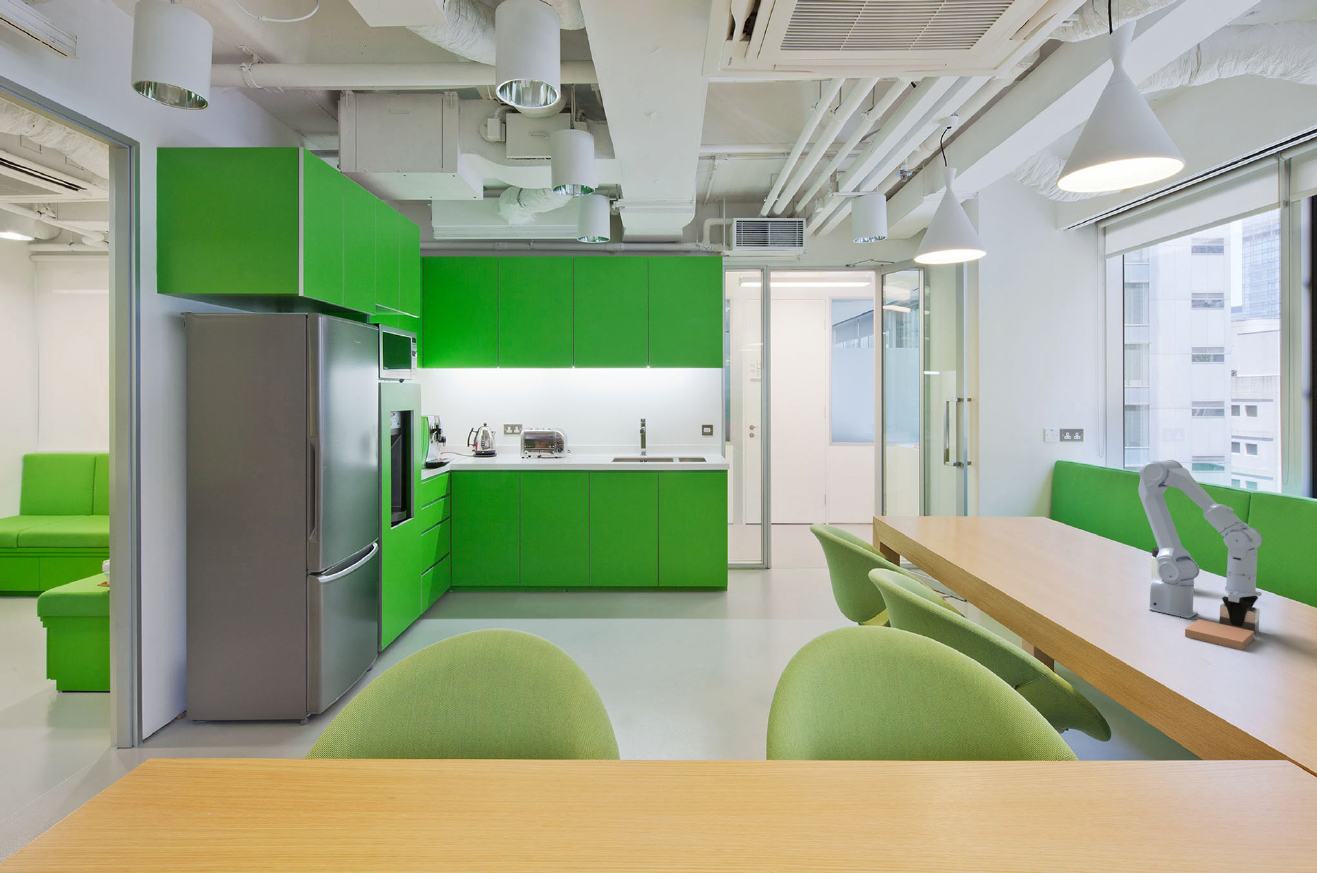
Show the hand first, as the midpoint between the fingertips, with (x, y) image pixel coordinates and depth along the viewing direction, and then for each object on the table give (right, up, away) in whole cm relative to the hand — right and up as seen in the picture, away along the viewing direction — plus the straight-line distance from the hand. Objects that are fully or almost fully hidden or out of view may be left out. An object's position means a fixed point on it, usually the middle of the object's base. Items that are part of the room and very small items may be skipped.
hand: (1239, 623), depth 166 cm
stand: (-11, -2, -6) cm, 12 cm away
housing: (0, -2, 0) cm, 2 cm away
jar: (+12, 0, +39) cm, 41 cm away
